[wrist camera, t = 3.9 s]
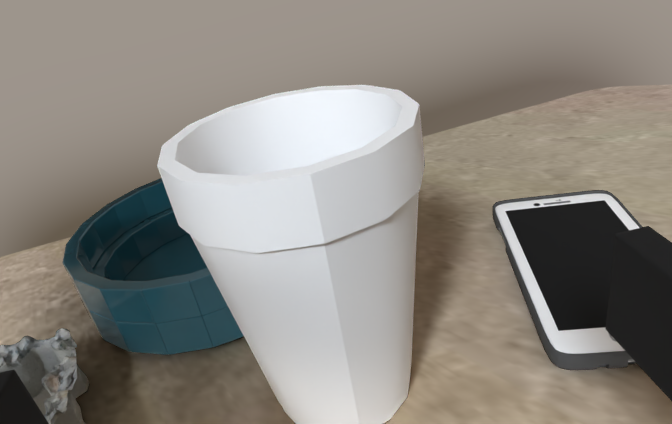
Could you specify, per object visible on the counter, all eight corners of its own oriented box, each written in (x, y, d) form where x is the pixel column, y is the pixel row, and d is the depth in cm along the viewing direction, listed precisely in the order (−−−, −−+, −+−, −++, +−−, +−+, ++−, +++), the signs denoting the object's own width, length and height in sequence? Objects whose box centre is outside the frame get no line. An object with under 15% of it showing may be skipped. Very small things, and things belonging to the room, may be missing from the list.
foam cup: (382, 294, 30) (347, 72, 24) (488, 401, 22) (477, 116, 16) (226, 363, 27) (141, 132, 21) (286, 513, 20) (180, 218, 13)
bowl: (54, 383, 28) (12, 312, 26) (136, 236, 42) (113, 181, 39) (336, 336, 28) (320, 259, 25) (325, 203, 41) (314, 146, 39)
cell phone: (552, 375, 23) (553, 359, 22) (489, 213, 36) (489, 201, 35) (744, 363, 22) (748, 346, 21) (607, 200, 35) (608, 187, 34)
